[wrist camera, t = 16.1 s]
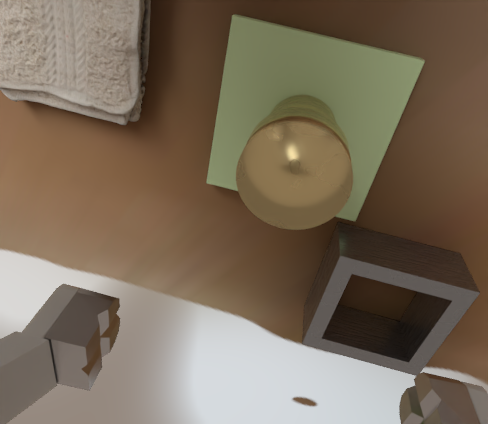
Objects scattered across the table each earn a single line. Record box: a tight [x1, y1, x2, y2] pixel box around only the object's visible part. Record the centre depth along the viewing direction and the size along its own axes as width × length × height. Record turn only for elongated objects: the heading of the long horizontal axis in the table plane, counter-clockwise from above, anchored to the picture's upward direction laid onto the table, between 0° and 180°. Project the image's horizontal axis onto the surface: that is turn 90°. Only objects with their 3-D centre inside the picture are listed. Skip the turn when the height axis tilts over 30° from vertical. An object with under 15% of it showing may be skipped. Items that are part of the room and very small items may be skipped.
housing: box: [302, 222, 480, 376], centre depth 31 cm, size 10×10×4 cm
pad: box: [206, 14, 425, 221], centre depth 26 cm, size 12×12×1 cm
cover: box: [236, 95, 353, 230], centre depth 23 cm, size 6×6×8 cm
